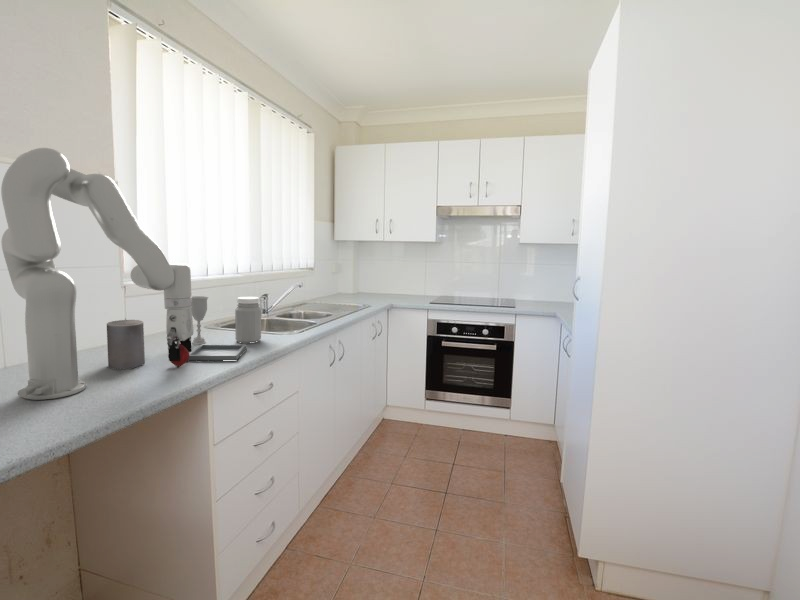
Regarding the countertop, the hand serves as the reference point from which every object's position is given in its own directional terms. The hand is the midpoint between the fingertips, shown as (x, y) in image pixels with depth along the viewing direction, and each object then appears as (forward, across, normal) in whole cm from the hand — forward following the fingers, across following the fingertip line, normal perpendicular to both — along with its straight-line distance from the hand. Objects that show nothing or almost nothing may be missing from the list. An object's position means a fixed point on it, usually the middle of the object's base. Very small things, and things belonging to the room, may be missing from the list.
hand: (180, 356), depth 130 cm
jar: (+4, +36, -14) cm, 38 cm away
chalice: (+4, +33, +4) cm, 33 cm away
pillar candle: (+3, +2, +16) cm, 17 cm away
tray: (+4, +14, -8) cm, 16 cm away
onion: (+4, 0, 0) cm, 4 cm away
